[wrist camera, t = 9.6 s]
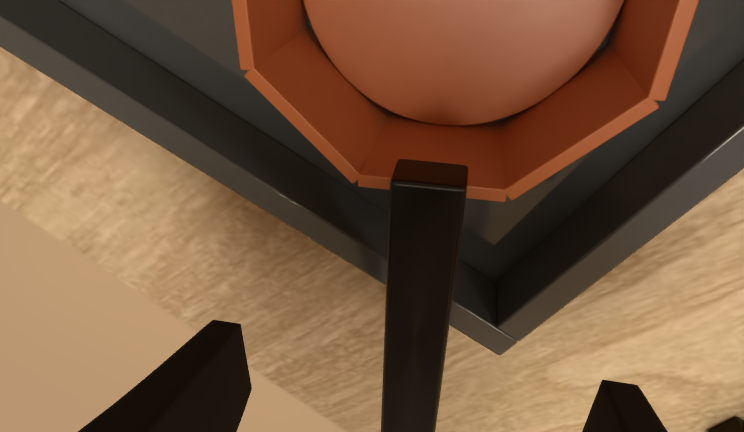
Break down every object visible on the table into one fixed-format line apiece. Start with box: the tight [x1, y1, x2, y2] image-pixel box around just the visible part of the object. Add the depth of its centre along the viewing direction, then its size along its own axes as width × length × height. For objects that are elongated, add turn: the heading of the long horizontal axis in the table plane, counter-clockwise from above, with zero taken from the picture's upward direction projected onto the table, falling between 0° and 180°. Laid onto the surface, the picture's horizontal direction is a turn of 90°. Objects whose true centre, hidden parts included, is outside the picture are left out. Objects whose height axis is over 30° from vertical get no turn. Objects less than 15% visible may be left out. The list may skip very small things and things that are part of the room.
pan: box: [232, 0, 699, 432], centre depth 11 cm, size 15×8×4 cm, turn 179°
